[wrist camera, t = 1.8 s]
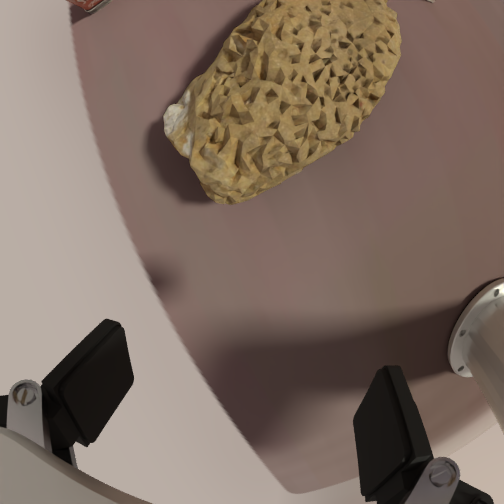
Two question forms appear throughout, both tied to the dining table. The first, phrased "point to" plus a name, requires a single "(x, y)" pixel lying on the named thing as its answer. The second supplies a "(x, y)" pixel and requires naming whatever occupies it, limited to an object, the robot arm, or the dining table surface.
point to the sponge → (283, 92)
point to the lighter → (90, 4)
